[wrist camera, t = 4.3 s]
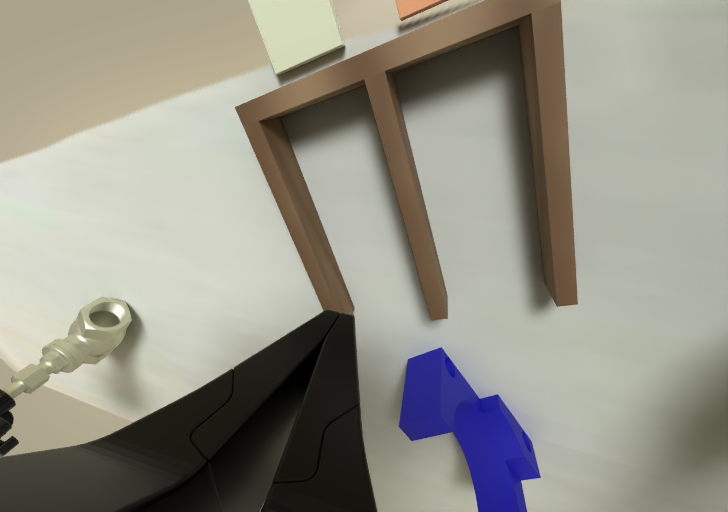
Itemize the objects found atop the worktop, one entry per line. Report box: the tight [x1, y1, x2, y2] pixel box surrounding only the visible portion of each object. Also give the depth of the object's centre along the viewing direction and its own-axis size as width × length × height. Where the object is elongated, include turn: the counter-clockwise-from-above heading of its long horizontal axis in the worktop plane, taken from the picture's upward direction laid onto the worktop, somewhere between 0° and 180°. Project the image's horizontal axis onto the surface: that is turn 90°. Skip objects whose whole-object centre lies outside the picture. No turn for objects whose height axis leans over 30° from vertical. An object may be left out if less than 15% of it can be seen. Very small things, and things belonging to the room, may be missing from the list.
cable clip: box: [399, 347, 541, 512], centre depth 23 cm, size 12×4×6 cm, turn 37°
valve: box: [0, 297, 132, 457], centre depth 26 cm, size 7×7×12 cm
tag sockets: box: [235, 0, 578, 320], centre depth 17 cm, size 15×20×2 cm
